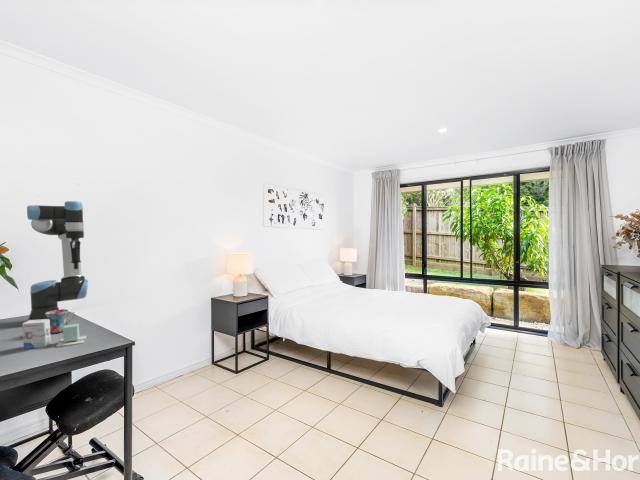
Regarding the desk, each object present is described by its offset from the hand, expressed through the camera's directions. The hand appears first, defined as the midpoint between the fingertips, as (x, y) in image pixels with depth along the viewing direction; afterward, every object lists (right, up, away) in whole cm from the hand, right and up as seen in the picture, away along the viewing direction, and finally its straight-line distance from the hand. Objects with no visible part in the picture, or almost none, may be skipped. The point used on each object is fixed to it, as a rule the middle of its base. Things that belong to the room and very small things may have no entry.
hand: (76, 274), depth 167 cm
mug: (-7, -30, -1) cm, 31 cm away
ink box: (-1, -31, -22) cm, 38 cm away
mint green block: (+11, -29, -17) cm, 35 cm away
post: (+11, -30, -17) cm, 36 cm away
